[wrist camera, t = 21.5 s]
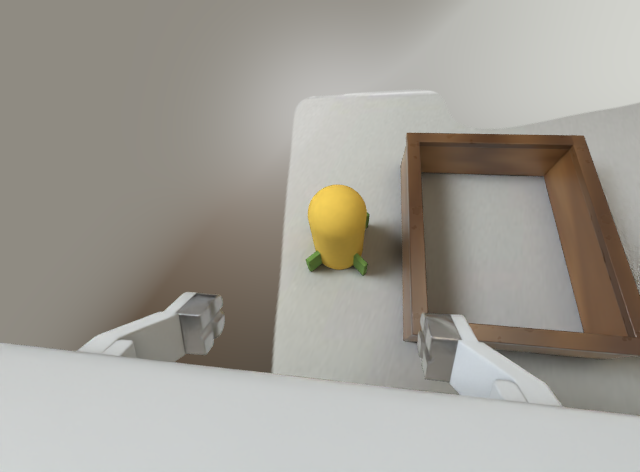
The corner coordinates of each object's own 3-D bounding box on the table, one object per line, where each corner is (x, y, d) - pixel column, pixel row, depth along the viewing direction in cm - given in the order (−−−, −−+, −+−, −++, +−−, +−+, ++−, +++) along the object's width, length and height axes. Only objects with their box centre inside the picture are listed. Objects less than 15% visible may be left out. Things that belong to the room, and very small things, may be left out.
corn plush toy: (368, 224, 29) (375, 169, 22) (366, 275, 27) (373, 234, 19) (314, 221, 30) (303, 166, 22) (308, 271, 28) (293, 230, 20)
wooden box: (551, 168, 30) (583, 135, 26) (604, 361, 23) (662, 357, 19) (399, 164, 32) (406, 132, 28) (401, 342, 24) (412, 334, 20)
